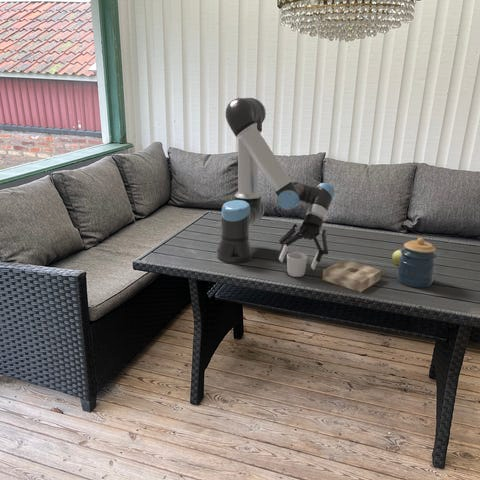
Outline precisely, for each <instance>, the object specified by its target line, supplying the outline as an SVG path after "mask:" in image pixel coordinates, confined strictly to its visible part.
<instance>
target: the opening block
mask: <svg viewBox="0 0 480 480" xmlns="http://www.w3.org/2000/svg"><path fill="white" fill-rule="evenodd" d="M381 278H382V269H380V268H376V267H375V268H374V267H372V266H369V265H364V264H361V263H358V262H354V261H351V260H348V259H345V258H344V259H343V260H340V261H338V262H336V263H335V264H333V265H331V266H328V267H326V268H324V269H322V280H323V281H326V282H328V283H332V284H334V285H338V286H341V287H344V288H347V289H350V290H353V291H356V292H359V293H362V292H363V291H365V290H367V289H369V288H370V287H371V286H372V285H375V284H376V283H377V282H379V281H381Z"/></svg>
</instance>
